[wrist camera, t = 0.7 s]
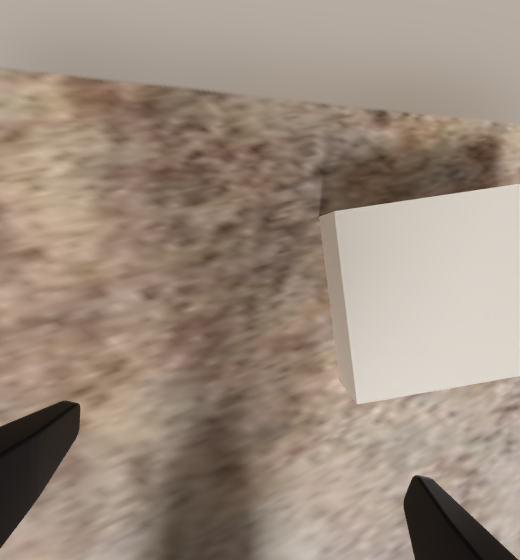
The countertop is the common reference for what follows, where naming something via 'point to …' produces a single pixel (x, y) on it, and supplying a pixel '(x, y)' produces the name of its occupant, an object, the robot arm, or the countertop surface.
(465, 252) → the base block
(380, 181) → the countertop surface
